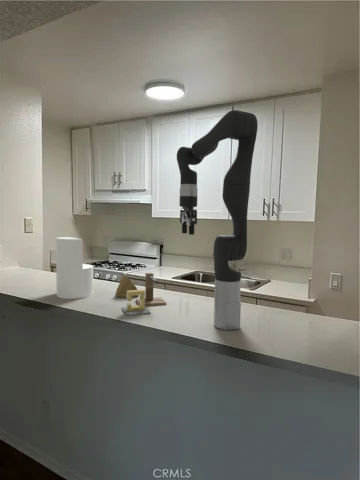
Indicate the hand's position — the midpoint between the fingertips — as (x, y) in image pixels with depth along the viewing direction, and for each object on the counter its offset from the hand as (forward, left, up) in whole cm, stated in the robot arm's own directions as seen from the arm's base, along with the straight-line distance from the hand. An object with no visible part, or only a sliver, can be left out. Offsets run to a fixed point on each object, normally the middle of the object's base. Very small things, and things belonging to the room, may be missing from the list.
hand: (187, 233), depth 140 cm
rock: (+26, +21, -32) cm, 47 cm away
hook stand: (+9, +13, -32) cm, 36 cm away
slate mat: (+1, +22, -32) cm, 39 cm away
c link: (+1, +22, -32) cm, 38 cm away
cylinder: (+37, +45, -32) cm, 67 cm away
